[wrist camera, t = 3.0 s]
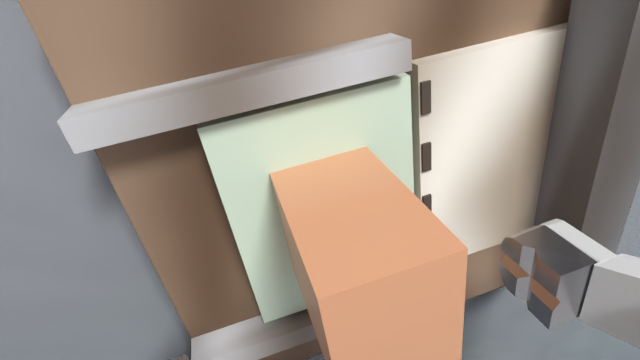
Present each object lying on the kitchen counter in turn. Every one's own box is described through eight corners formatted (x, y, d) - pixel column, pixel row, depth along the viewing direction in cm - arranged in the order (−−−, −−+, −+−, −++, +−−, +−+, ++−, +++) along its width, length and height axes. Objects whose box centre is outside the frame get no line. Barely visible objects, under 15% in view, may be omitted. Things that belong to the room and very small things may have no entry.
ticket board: (686, -129, 13) (871, -166, 9) (590, 227, 20) (672, 280, 17) (35, -14, 9) (-58, -6, 6) (216, 359, 17) (222, 459, 14)
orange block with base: (400, 71, 11) (549, 142, 7) (409, 260, 15) (507, 391, 10) (196, 121, 10) (200, 248, 6) (261, 310, 14) (296, 479, 9)
